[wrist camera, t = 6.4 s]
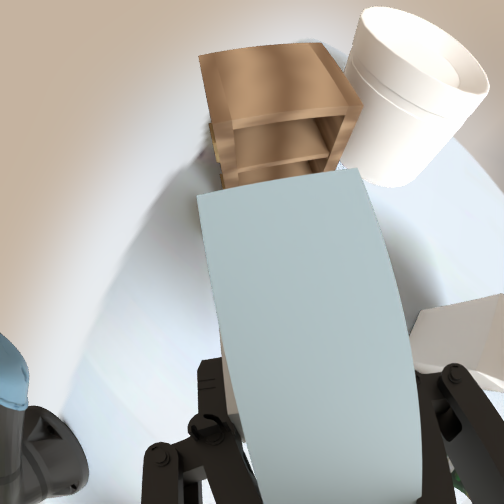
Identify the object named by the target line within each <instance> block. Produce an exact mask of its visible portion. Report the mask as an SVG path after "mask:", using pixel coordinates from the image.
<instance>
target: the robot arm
mask: <svg viewBox="0 0 504 504" xmlns="http://www.w3.org/2000/svg"><path fill="white" fill-rule="evenodd" d="M219 331H220V327H219ZM220 343H221V354H222V357H220V358H214V359H208V360H202V361H201V363H200V366H199V368H198V370H197V381H198V414H196V415H195V416H194V417H193V418H192V419H191V420H190V422H189V424H188V433H189V435H190V437H189V438H187V439H185V440H182V441H180V442H177V443H174V444H172V445H170V444H169V443H164V442H159V443H155V444H153V445H151V446H149V448H148V449H147V450H146V452H145V455H144V463H143V477H142V497H141V504H203V503H202V480H204V479H208V482H209V485H210V488H211V491H212V493H213V496H214V499H215V502H216V504H264V503H263V500H262V497H261V493H260V490H259V487H258V483H257V480H256V478H255V476H254V473H253V471H252V469H251V466H250V464H249V462H248V460H247V457H246V455H245V453H244V451H243V447H242V442H243V443H245V442H246V440H245V436H244V432H243V428H242V424H241V420H240V416H239V412H238V408H237V404H236V400H235V395H234V391H233V387H232V383H231V378H230V374H229V369H228V365H227V360H226V356H225V351H224V347H223V342H222V337H221V332H220ZM415 377H416V384H417V392H418V401H419V412H420V424H421V441H422V496H421V497H420V498H418V499H417V501H416V504H457V503H456V497H455V491H454V486H453V481H452V476H451V471H450V467H449V462H448V458H447V455H448V457H449V459H450V461H451V463H452V465H453V467H454V468H455V470H456V472H457V474H458V476H459V478H460V480H461V482H462V484H463V486H464V488H465V490H466V492H467V494H468V496H469V498H470V500H471V502H472V504H504V421H503V419H502V418H501V416H500V415H499V413H498V412H497V410H496V409H495V407H494V406H493V404H492V403H491V402H490V400H489V399H488V397H487V396H486V394H485V393H484V392H483V390H482V389H481V388H480V386H479V385H478V383H477V382H476V381H475V379H474V378H473V377H472V375H471V374H470V373H469V371H468V370H467V369H466V368H465V367H464V366H463V365H461V364H458V363H451V364H448V365H447V366H445V367H444V368H443V370H442V372H437V373H429V374H421V373H418V372H417V371H416V370H415ZM28 384H29V371H28V367H27V364H26V362H25V360H24V358H23V356H22V355H21V354H20V352H19V351H18V350H17V348H16V347H15V346H14V345H13V344H12V343H11V342H10V341H9V340H8V339H7V338H6V337H5V336H3V335H2V334H1V333H0V504H38V503H40V502H41V501H43V500H45V499H46V498H54V497H61V496H67V495H72V494H75V493H77V492H78V491H79V490H81V489H82V488H83V487H84V486H85V485H86V484H87V481H88V477H89V469H88V464H87V460H86V457H85V455H84V452H83V450H82V448H81V446H80V444H79V443H78V441H77V439H76V438H75V436H74V435H73V434H72V432H71V431H70V430H69V428H68V427H67V426H66V425H65V424H64V423H63V422H62V421H61V420H60V419H59V418H58V417H57V416H56V415H54V414H53V413H51V412H50V411H48V410H47V409H44V408H42V407H39V406H28V397H27V393H28Z"/></svg>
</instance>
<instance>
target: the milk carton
mask: <svg viewBox="0 0 504 504" xmlns="http://www.w3.org/2000/svg"><path fill="white" fill-rule="evenodd" d="M409 341H410V346H411V352H412V357H413V364H414V369H415V370H417V371H419V372H420V373H422V374H429V373H437V372H442V370H443V368H444V367H445V366H447V365H448V364H451V363H458V364H461V365H463V366H464V367H465V368H466V369H467V370H468V371H469V373H470V374H471V375H472V377H473V378H474V379H475V381H476V382H477V383H478V385H479V386H480V388H481V389H482V390H489V391H495V392H501V393H504V294H502V293H500V294H497V295H493V296H488V297H484V298H480V299H475V300H471V301H466V302H461V303H456V304H451V305H446V306H441V307H436V308H430V309H424V310H421V311H420V313H419V315H418V317H417V320H416V322H415V324H414V327H413V329H412V331H411V333H410V335H409Z"/></svg>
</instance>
